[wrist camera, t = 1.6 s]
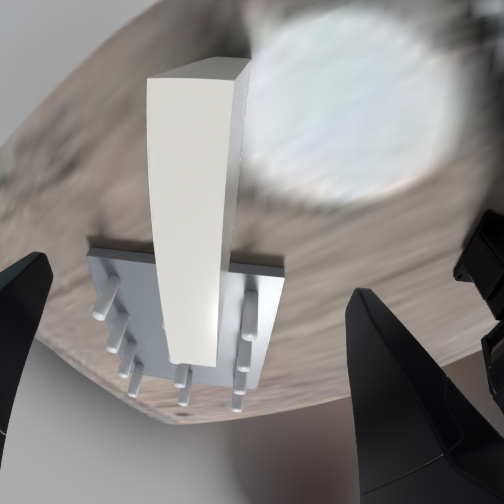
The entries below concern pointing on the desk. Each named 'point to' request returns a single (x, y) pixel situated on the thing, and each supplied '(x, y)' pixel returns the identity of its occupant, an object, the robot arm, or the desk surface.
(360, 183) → the desk surface
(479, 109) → the desk surface
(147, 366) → the dish rack
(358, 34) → the desk surface
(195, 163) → the white rectangular slab
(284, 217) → the desk surface
